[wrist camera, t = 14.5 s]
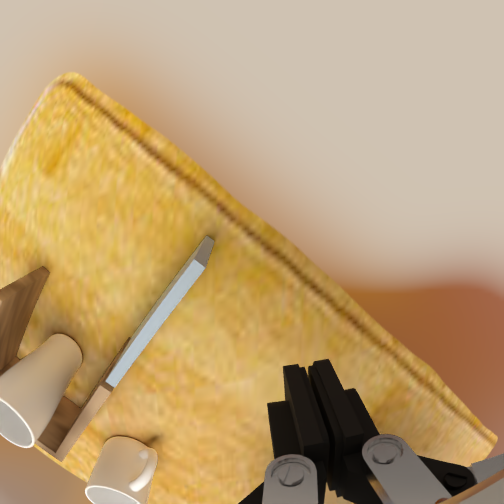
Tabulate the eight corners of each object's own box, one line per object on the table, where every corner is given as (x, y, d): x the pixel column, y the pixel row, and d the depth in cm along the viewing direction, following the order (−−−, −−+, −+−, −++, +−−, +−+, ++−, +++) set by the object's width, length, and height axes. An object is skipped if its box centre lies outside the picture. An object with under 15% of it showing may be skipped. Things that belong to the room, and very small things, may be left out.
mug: (139, 416, 36) (120, 472, 26) (184, 449, 38) (176, 505, 28) (95, 444, 37) (74, 492, 27) (136, 473, 39) (123, 521, 29)
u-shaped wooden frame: (137, 343, 33) (111, 392, 24) (85, 417, 36) (61, 462, 27) (42, 266, 31) (-6, 293, 22) (8, 355, 33) (-27, 389, 24)
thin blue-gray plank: (141, 338, 33) (114, 387, 24) (133, 333, 33) (105, 381, 24) (214, 241, 31) (205, 267, 22) (206, 235, 31) (194, 259, 22)
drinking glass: (61, 316, 32) (-9, 383, 18) (99, 358, 34) (45, 440, 19) (36, 342, 33) (-27, 406, 18) (71, 380, 34) (20, 454, 20)
